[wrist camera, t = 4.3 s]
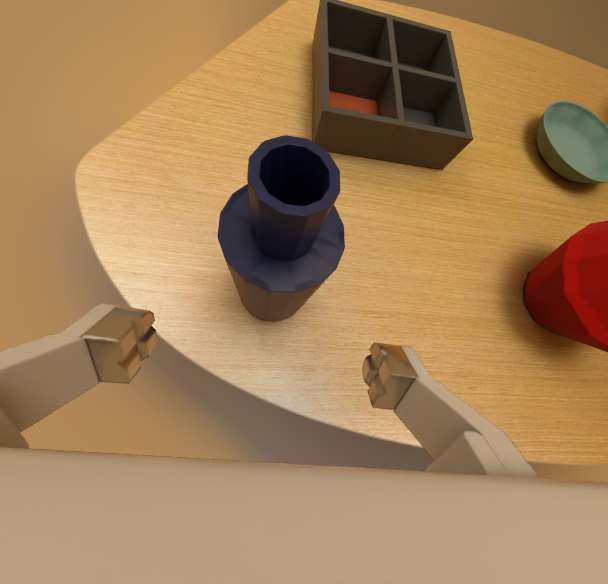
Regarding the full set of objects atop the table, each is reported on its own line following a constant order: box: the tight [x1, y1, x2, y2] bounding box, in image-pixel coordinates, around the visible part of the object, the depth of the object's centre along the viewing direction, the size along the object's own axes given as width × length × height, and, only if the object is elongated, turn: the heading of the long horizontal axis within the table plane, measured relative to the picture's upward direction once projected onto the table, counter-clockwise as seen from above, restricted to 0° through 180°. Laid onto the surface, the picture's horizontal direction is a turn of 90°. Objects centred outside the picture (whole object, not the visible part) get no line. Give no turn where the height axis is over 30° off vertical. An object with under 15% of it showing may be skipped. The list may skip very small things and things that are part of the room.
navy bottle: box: [218, 135, 345, 322], centre depth 16 cm, size 6×6×16 cm
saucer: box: [537, 101, 608, 183], centre depth 36 cm, size 15×15×3 cm
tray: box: [312, 0, 473, 170], centre depth 30 cm, size 18×18×5 cm
